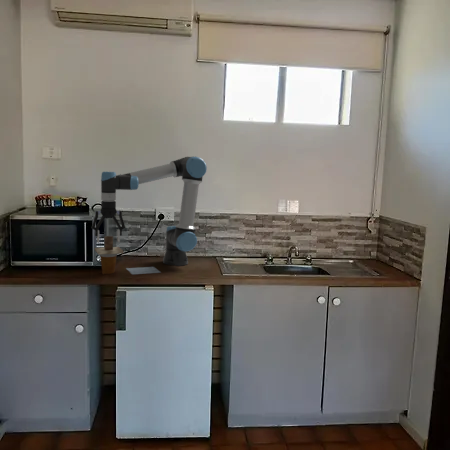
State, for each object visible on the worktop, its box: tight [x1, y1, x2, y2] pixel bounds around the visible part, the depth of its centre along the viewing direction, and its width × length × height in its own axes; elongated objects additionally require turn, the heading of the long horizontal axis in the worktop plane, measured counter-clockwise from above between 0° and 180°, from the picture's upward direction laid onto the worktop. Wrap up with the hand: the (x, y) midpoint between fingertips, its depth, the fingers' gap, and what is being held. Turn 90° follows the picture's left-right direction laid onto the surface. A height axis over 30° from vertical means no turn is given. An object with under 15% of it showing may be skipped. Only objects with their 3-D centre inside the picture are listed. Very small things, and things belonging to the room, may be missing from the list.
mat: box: [125, 266, 162, 275], centre depth 262 cm, size 16×15×1 cm
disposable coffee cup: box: [98, 254, 118, 275], centre depth 254 cm, size 10×10×12 cm
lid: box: [94, 235, 124, 255], centre depth 253 cm, size 13×13×8 cm
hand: (108, 241), depth 253 cm, fingers open, 10 cm apart
